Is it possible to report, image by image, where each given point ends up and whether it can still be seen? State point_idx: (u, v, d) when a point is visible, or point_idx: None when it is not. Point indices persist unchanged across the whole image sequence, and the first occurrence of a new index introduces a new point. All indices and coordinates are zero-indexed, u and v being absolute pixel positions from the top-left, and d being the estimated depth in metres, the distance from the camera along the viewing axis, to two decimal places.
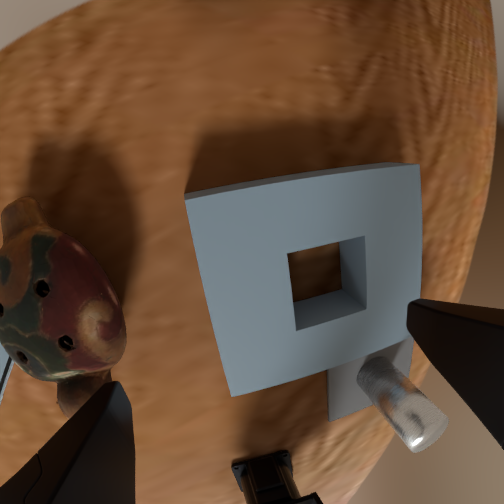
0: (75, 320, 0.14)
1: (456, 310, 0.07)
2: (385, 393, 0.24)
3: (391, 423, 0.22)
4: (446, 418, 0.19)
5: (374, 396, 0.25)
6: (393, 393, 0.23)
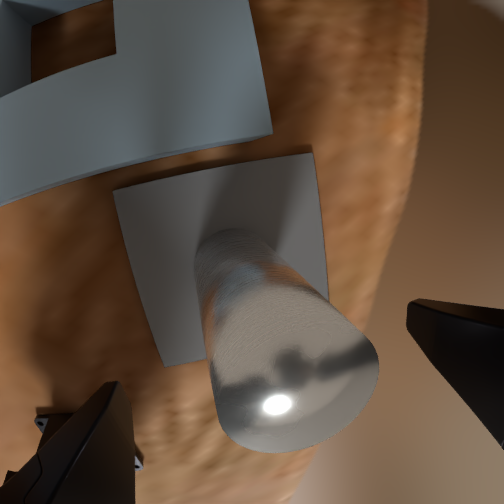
0: None
1: (456, 310, 0.07)
2: (207, 277, 0.11)
3: None
4: (360, 340, 0.07)
5: (197, 293, 0.12)
6: (218, 272, 0.11)
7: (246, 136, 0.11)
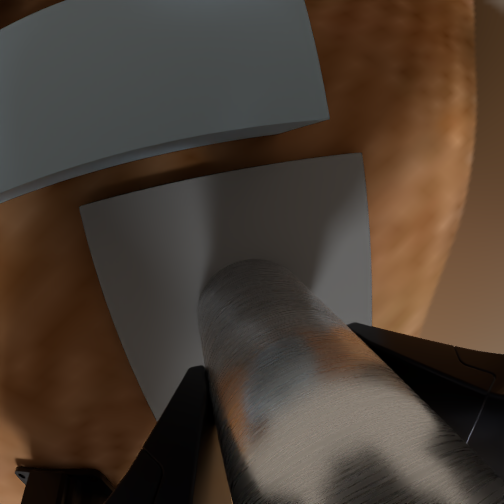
0: None
1: (388, 341, 0.07)
2: (224, 357, 0.07)
3: None
4: None
5: (206, 370, 0.08)
6: (244, 357, 0.06)
7: (287, 121, 0.06)
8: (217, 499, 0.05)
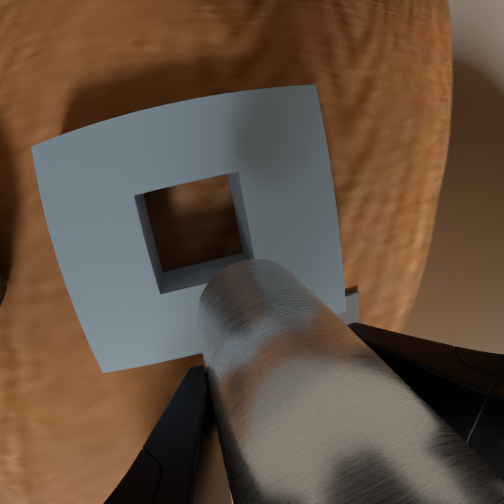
0: None
1: (388, 341, 0.07)
2: (224, 357, 0.07)
3: None
4: None
5: (206, 370, 0.08)
6: (244, 357, 0.06)
7: None
8: (217, 499, 0.05)
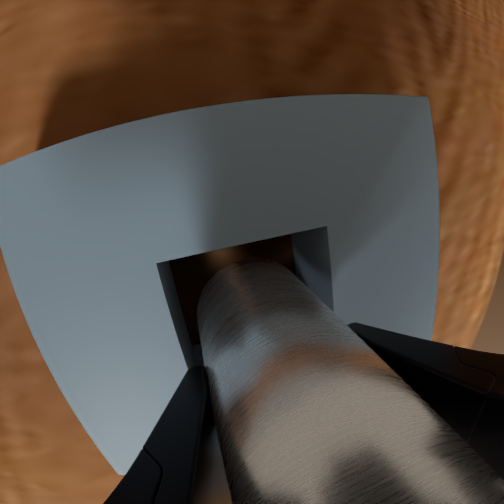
0: None
1: (388, 341, 0.07)
2: (223, 357, 0.07)
3: None
4: None
5: (206, 370, 0.08)
6: (244, 357, 0.06)
7: None
8: (217, 499, 0.05)
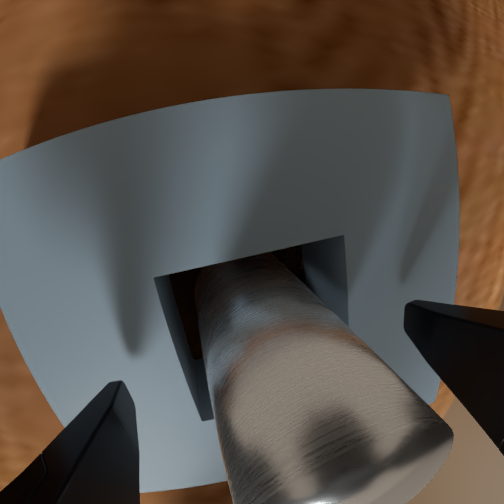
0: None
1: (453, 311, 0.07)
2: (214, 318, 0.08)
3: None
4: (442, 431, 0.04)
5: (200, 334, 0.09)
6: (229, 315, 0.08)
7: None
8: None
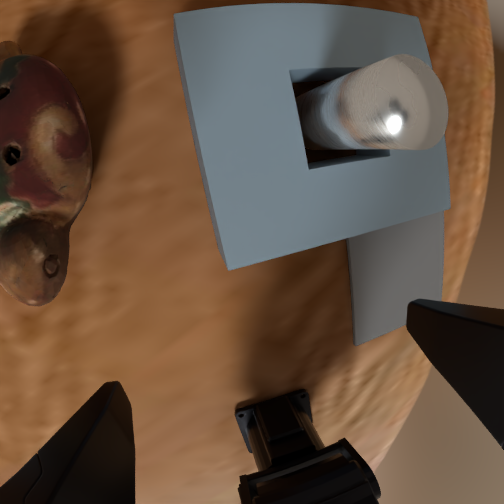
0: (29, 122, 0.10)
1: (456, 310, 0.07)
2: (320, 90, 0.15)
3: (337, 114, 0.13)
4: (433, 74, 0.10)
5: (308, 109, 0.16)
6: (330, 82, 0.14)
7: (441, 210, 0.19)
8: None
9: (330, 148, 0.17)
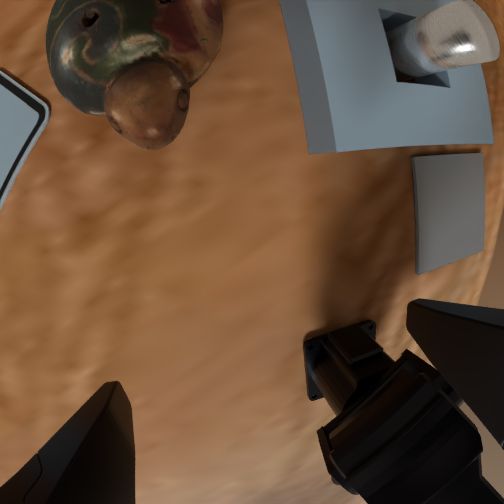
0: None
1: (456, 310, 0.07)
2: (401, 26, 0.15)
3: (423, 36, 0.13)
4: (487, 17, 0.10)
5: (391, 40, 0.16)
6: None
7: (487, 143, 0.19)
8: None
9: (406, 74, 0.17)
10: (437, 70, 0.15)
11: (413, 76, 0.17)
